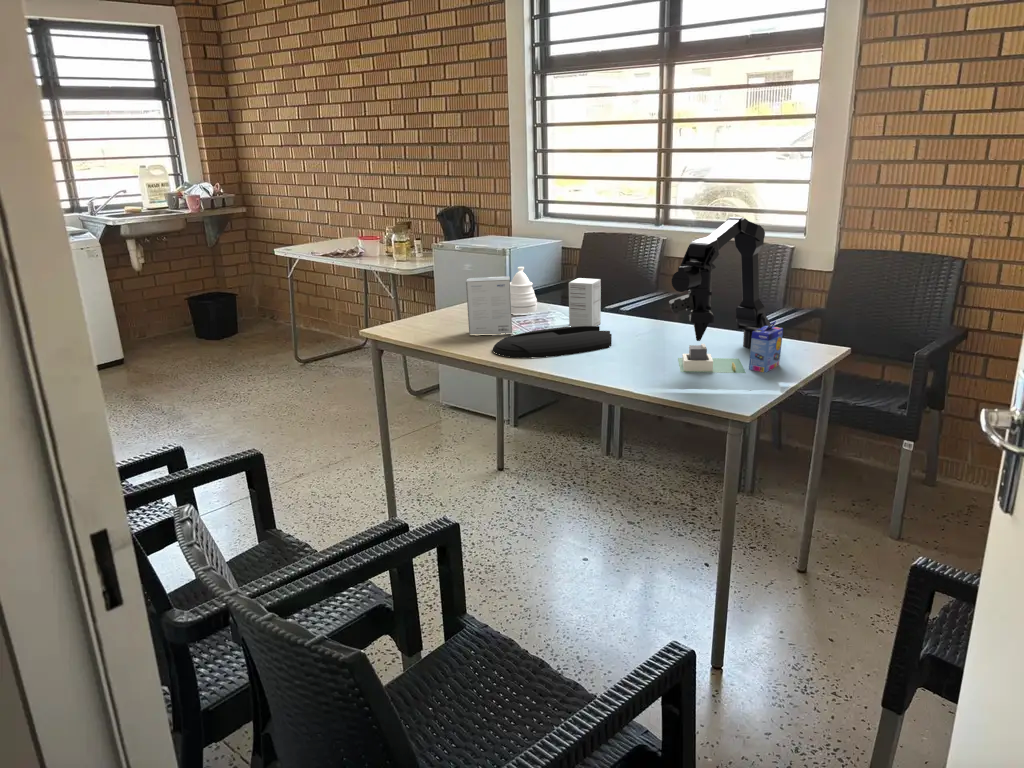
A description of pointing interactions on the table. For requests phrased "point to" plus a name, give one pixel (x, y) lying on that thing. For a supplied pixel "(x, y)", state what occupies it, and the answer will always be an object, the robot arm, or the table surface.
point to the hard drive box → (489, 305)
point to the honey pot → (522, 294)
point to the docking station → (554, 342)
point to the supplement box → (584, 302)
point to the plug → (697, 352)
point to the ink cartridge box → (765, 348)
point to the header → (697, 364)
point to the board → (721, 366)
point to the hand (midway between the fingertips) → (698, 340)
